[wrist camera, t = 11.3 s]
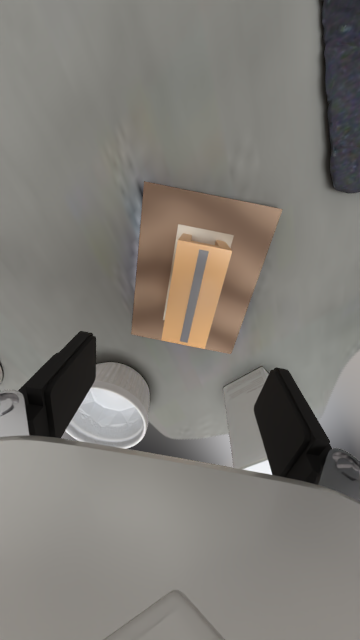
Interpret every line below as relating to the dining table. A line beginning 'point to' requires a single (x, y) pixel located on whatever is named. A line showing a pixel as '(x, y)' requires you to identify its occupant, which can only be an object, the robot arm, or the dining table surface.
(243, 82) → the dining table surface
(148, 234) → the pin board
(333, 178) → the dark grey piece
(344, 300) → the dining table surface
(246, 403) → the supplement box
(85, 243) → the dining table surface
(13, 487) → the robot arm
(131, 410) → the ramekin
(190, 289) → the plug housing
